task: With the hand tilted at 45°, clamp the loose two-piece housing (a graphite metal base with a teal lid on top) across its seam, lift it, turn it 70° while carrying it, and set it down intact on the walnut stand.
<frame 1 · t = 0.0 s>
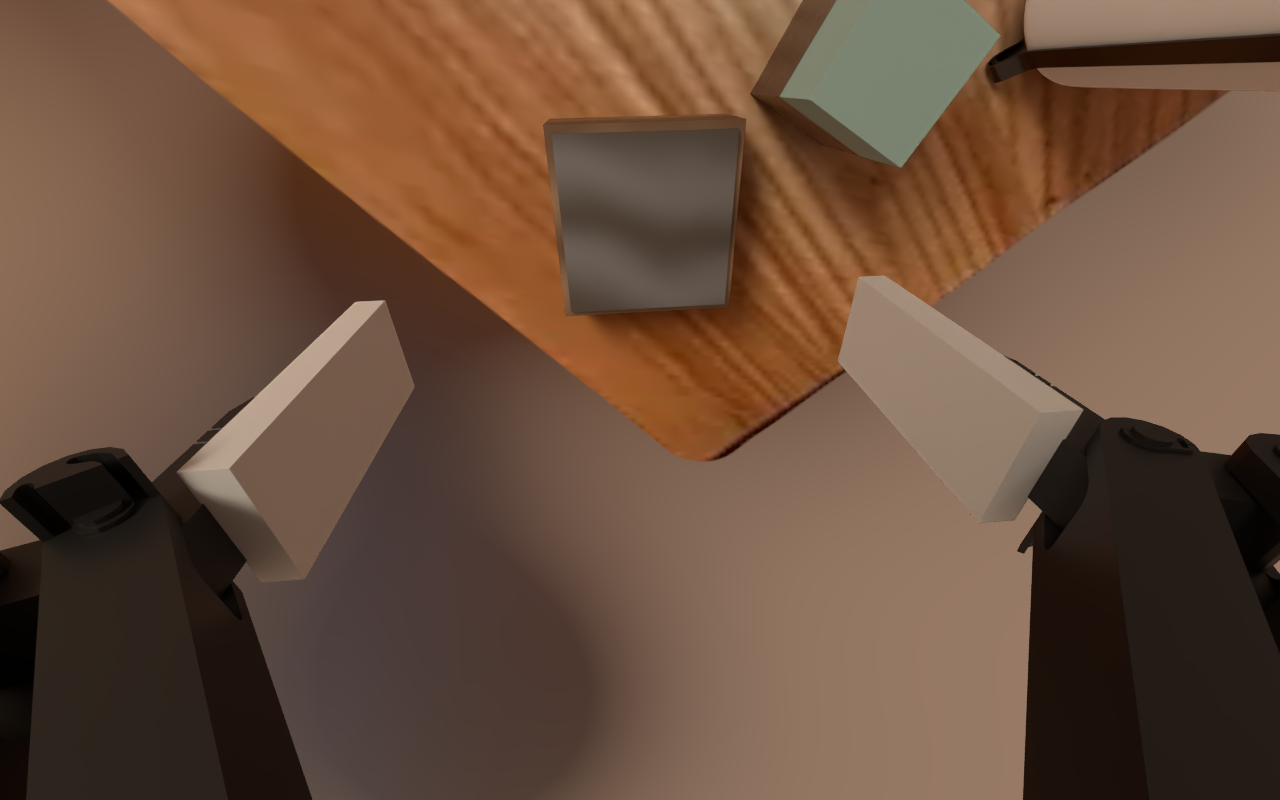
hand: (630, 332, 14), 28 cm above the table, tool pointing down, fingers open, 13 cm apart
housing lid: (859, 69, 29), point 6 cm above the table, touching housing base
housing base: (817, 70, 34), on the table, touching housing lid
walnut stand: (640, 209, 38), on the table
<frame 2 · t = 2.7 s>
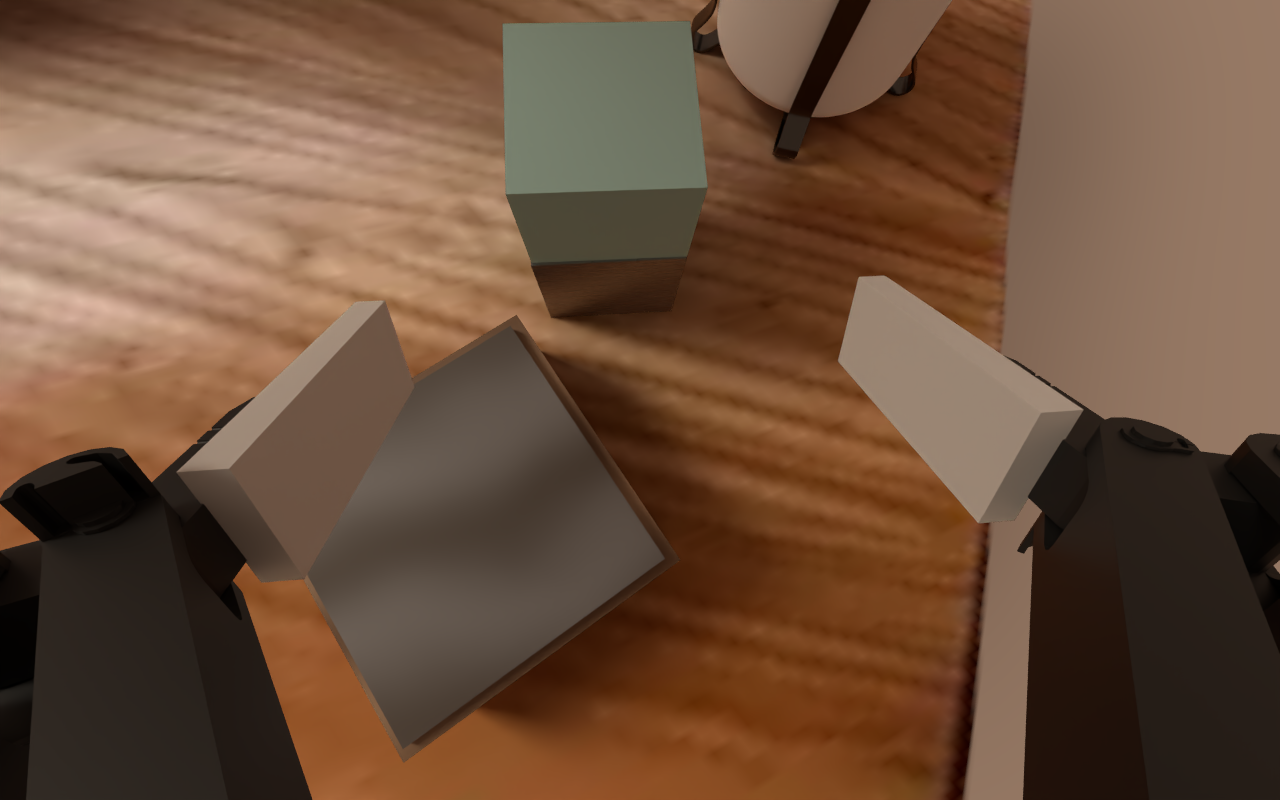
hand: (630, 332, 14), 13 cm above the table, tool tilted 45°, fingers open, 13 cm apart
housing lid: (605, 189, 22), point 6 cm above the table, touching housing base
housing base: (607, 259, 28), on the table, touching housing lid
walnut stand: (497, 512, 25), on the table
coffee press: (781, 56, 32), on the table
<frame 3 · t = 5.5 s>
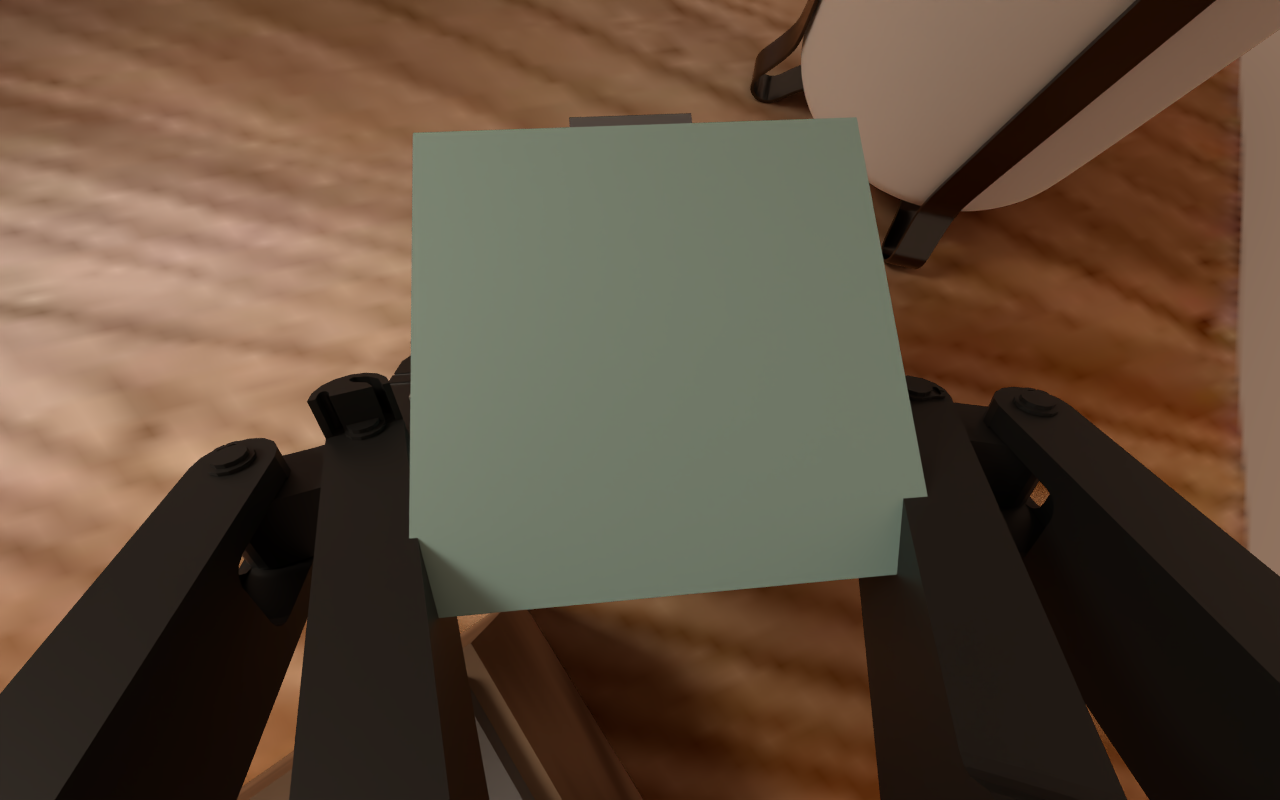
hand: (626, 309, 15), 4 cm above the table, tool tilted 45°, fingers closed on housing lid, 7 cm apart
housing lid: (642, 401, 12), point 6 cm above the table, touching gripper, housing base
coffee press: (884, 107, 22), on the table
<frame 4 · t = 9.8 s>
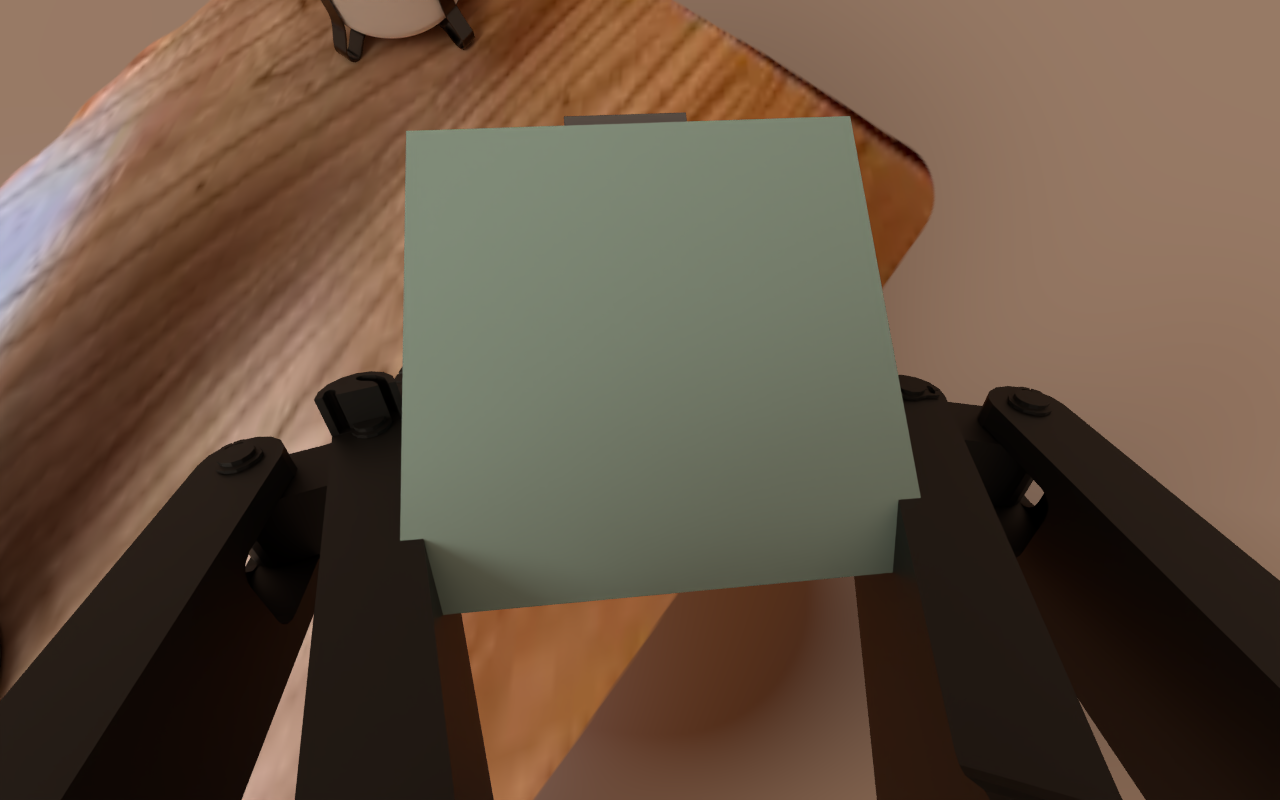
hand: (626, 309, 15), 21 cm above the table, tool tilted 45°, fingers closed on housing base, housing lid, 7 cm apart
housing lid: (638, 401, 12), point 24 cm above the table, touching gripper, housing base
coffee press: (391, 12, 41), on the table
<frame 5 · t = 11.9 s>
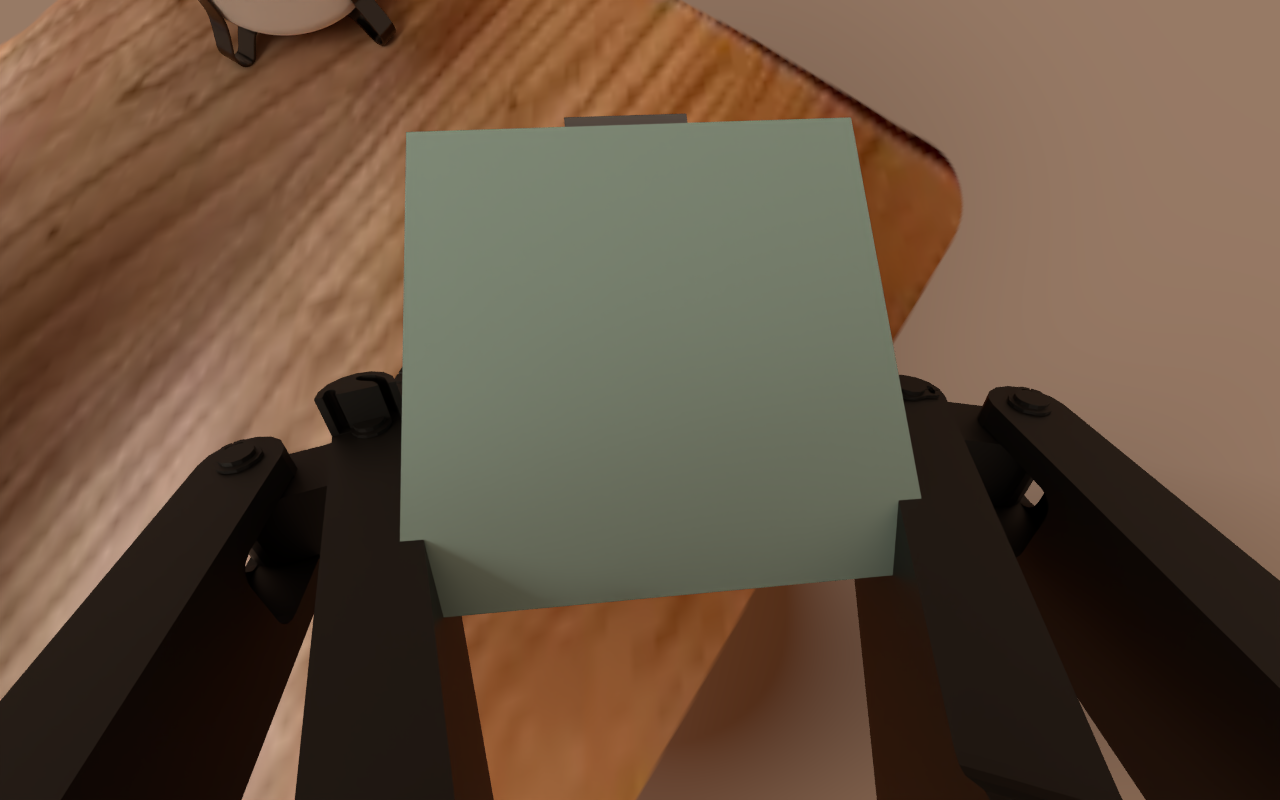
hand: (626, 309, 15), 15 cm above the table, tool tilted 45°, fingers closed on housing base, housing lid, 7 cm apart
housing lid: (638, 402, 12), point 18 cm above the table, touching gripper, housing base
coffee press: (291, 3, 34), on the table
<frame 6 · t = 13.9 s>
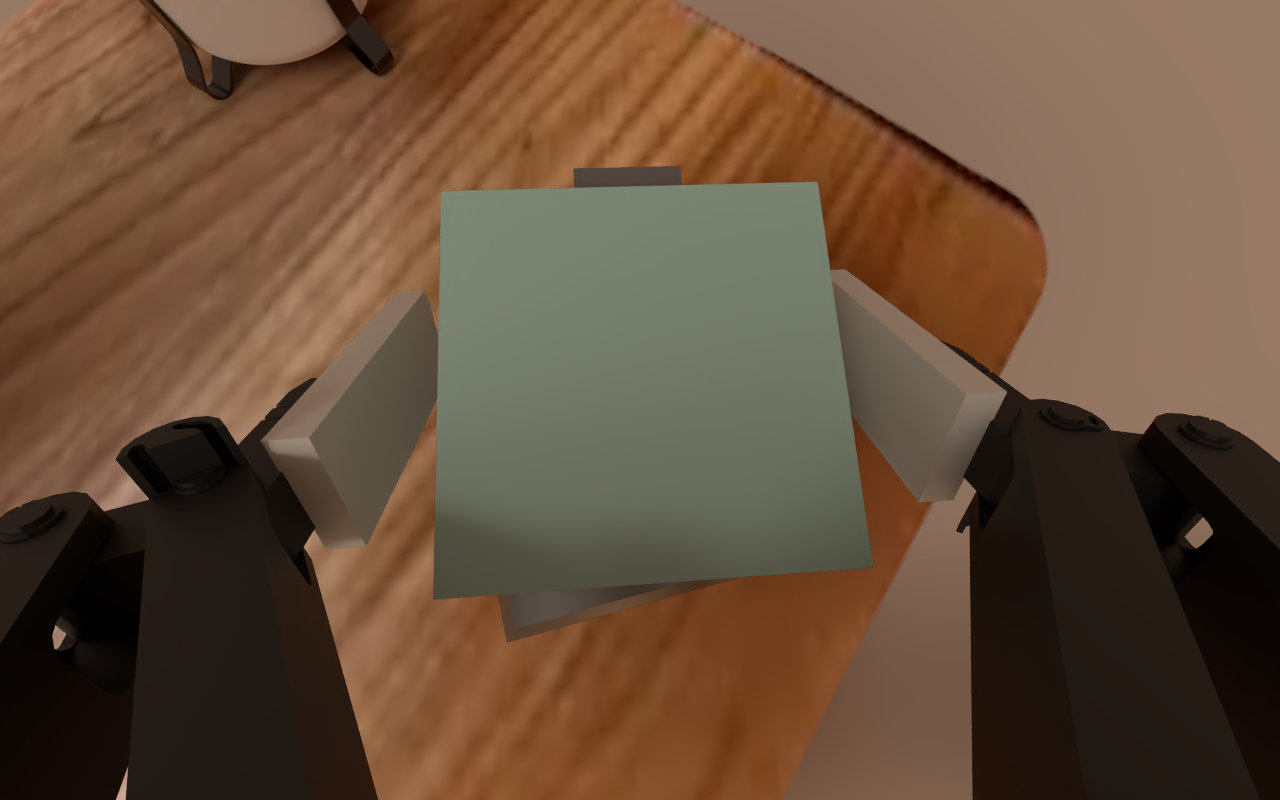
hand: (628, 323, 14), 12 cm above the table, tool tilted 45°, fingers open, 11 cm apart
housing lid: (635, 414, 13), point 12 cm above the table, touching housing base
walnut stand: (627, 449, 25), on the table
coffee press: (275, 26, 29), on the table
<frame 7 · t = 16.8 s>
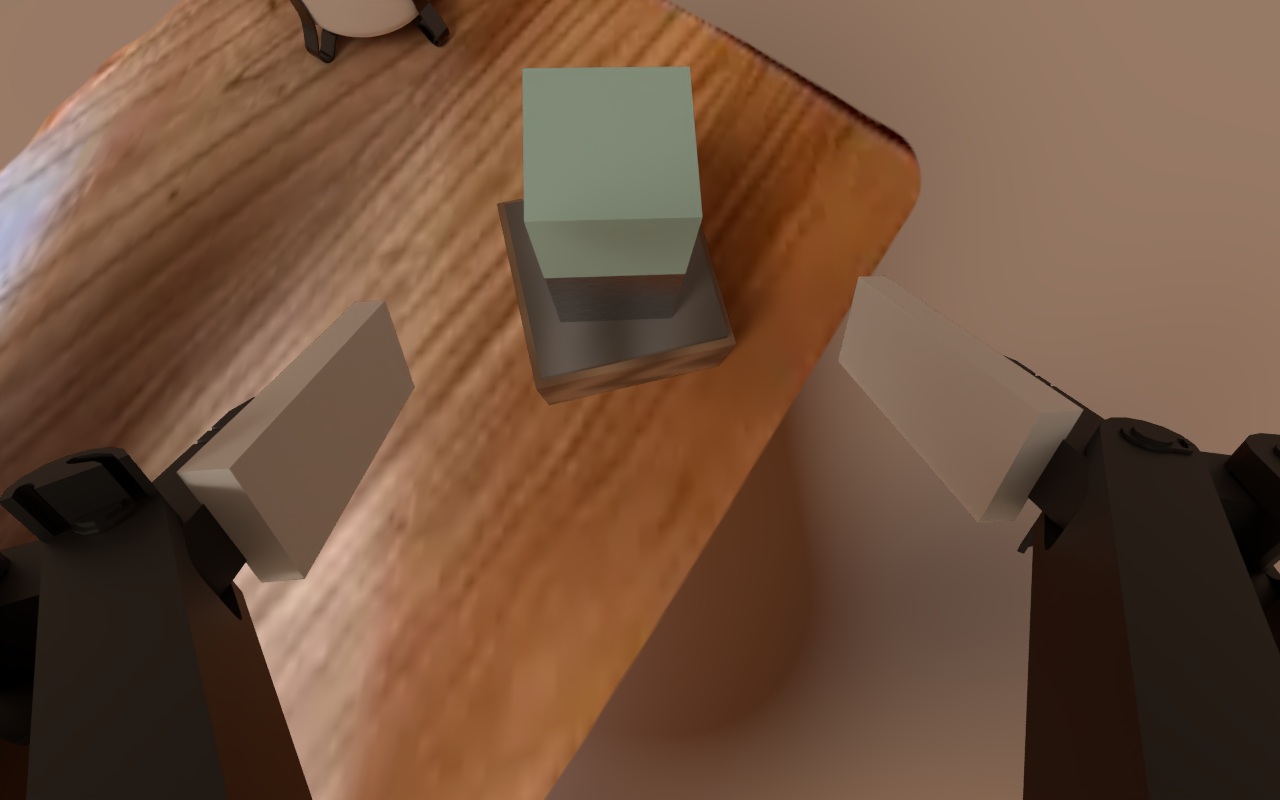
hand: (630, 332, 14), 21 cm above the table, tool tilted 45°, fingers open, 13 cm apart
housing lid: (612, 211, 24), point 12 cm above the table, touching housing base
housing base: (613, 268, 31), point 6 cm above the table, touching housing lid, walnut stand
walnut stand: (615, 304, 36), on the table
coffee press: (363, 11, 41), on the table
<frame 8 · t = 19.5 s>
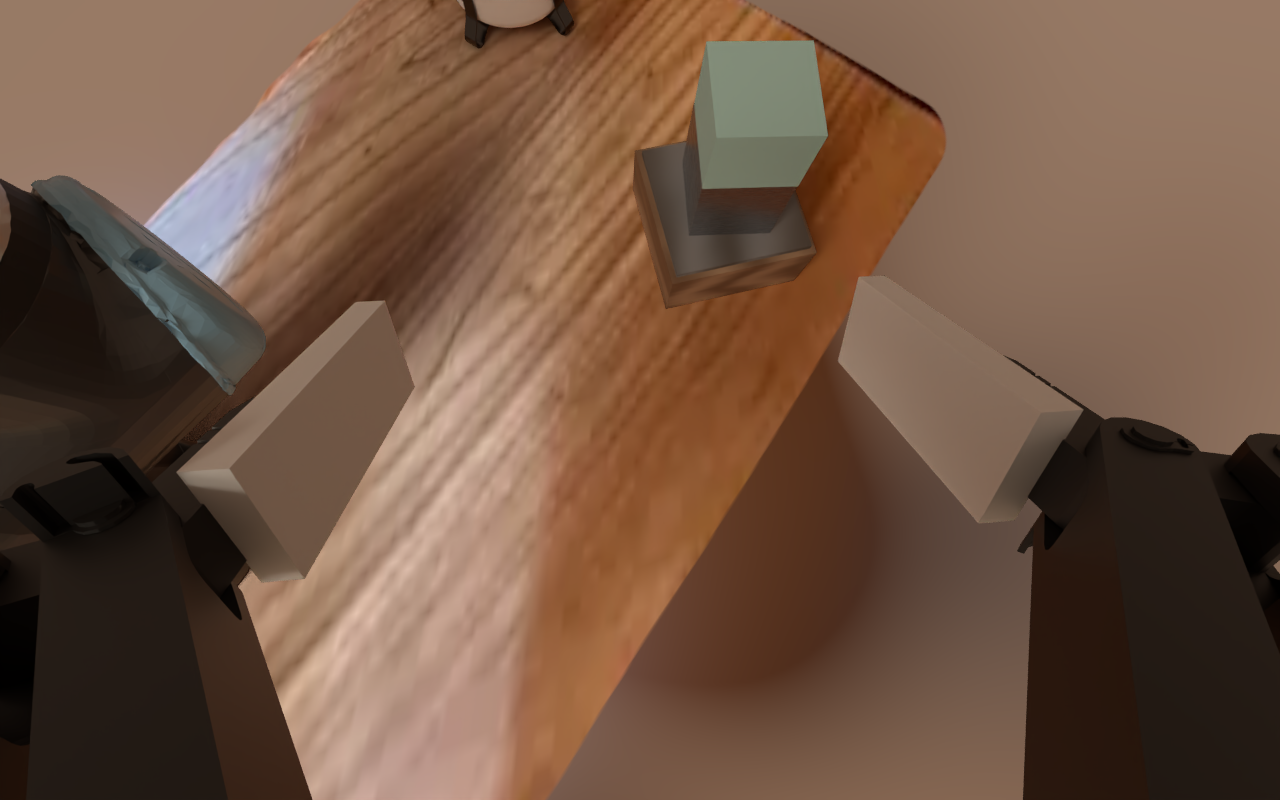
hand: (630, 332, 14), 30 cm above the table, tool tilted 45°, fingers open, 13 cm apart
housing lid: (745, 144, 35), point 12 cm above the table, touching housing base
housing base: (725, 197, 41), point 6 cm above the table, touching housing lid, walnut stand
walnut stand: (712, 234, 47), on the table
coffee press: (502, 7, 51), on the table
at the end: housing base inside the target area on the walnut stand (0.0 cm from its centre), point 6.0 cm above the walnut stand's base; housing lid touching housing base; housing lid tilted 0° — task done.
